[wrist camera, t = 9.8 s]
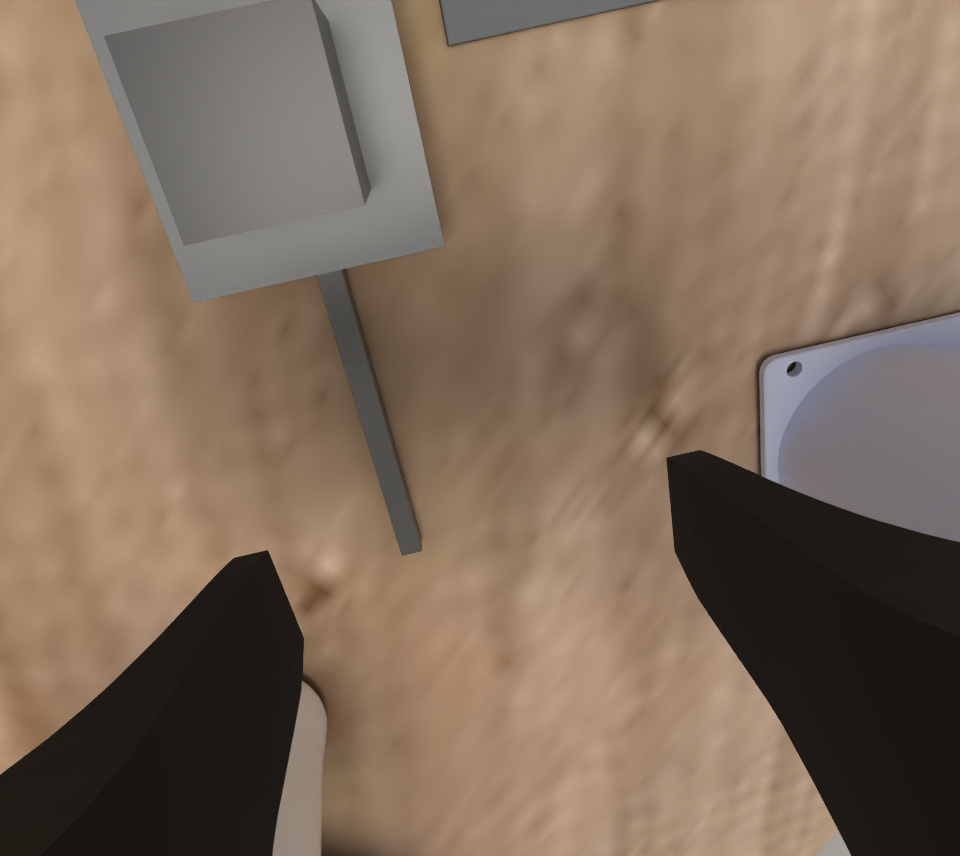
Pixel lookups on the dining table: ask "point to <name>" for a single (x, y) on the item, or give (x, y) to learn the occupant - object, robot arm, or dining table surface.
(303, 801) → the drinking glass
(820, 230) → the dining table surface
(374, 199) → the power strip
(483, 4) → the felt mat
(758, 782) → the dining table surface
